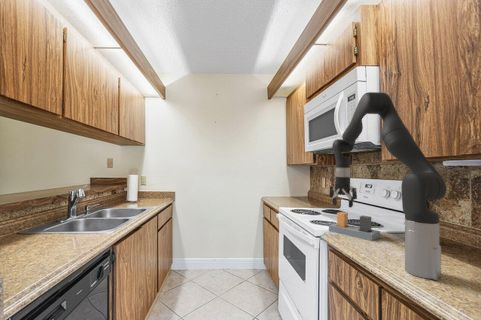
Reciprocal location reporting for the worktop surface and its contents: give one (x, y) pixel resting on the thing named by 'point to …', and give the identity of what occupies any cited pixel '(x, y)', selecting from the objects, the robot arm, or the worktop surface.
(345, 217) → the orange plug
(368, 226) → the slate power strip
